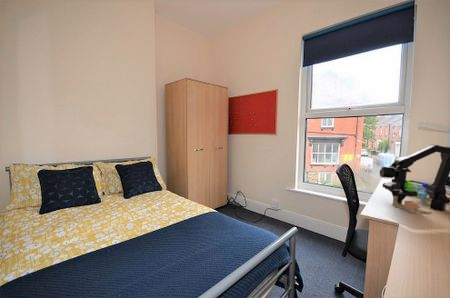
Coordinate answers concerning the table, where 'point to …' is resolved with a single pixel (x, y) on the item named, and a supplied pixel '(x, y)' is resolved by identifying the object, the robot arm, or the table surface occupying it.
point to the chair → (420, 192)
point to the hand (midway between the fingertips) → (397, 202)
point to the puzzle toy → (409, 187)
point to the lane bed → (405, 209)
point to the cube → (410, 205)
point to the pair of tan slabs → (424, 210)
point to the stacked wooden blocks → (395, 202)
